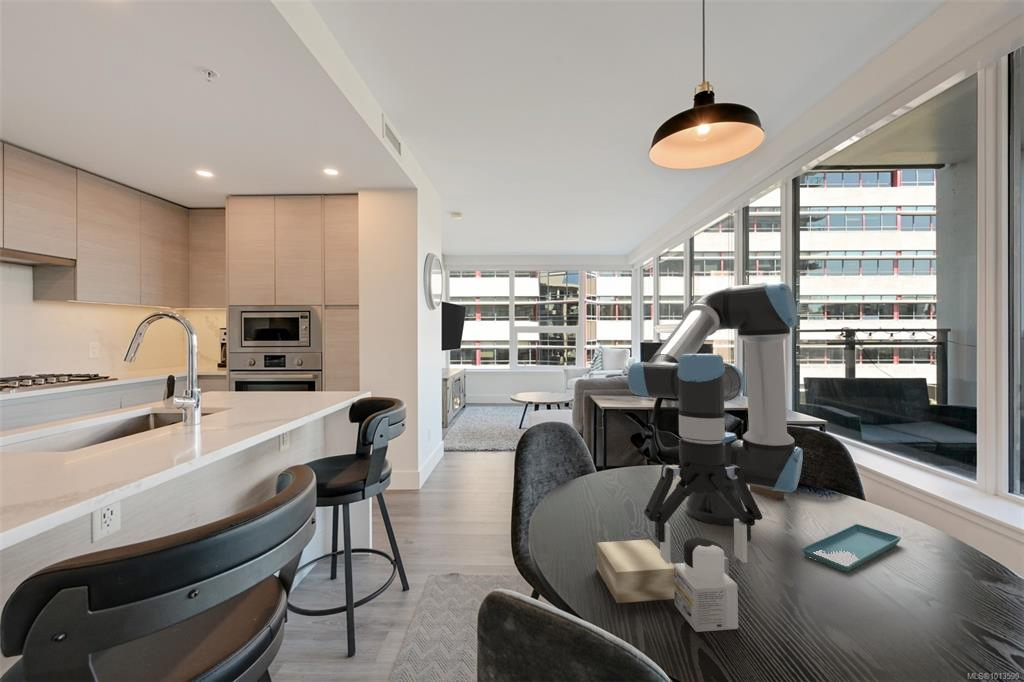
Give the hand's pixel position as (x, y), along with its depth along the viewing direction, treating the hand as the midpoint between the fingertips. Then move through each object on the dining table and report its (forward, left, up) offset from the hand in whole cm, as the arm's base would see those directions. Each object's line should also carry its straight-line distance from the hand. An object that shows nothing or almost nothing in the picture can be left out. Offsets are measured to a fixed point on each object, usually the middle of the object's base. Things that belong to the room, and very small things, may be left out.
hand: (703, 559), depth 73 cm
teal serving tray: (-46, -22, -11) cm, 53 cm away
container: (0, 0, -10) cm, 10 cm away
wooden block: (-50, -59, -10) cm, 78 cm away
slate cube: (-7, -12, -10) cm, 18 cm away
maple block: (+9, -11, -11) cm, 18 cm away
